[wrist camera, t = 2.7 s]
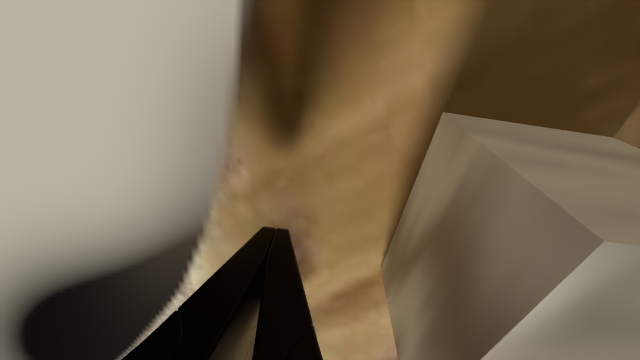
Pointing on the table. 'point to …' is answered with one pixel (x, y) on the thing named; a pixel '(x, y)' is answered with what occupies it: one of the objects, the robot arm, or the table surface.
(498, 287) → the pale block
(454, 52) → the table surface
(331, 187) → the table surface
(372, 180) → the table surface
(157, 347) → the robot arm
